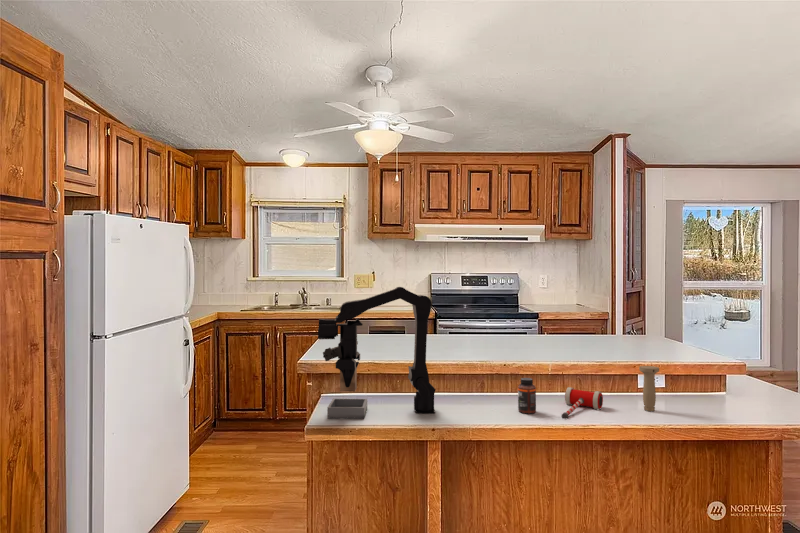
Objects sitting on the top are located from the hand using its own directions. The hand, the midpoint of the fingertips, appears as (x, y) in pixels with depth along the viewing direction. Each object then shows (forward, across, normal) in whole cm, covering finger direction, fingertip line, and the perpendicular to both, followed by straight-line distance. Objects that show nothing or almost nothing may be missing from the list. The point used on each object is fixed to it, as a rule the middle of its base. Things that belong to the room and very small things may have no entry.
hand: (348, 385), depth 167 cm
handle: (+10, -7, +104) cm, 105 cm away
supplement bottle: (+10, -4, +61) cm, 62 cm away
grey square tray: (+9, 0, 0) cm, 9 cm away
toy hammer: (+10, -7, +80) cm, 81 cm away
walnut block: (+2, 0, 0) cm, 2 cm away
